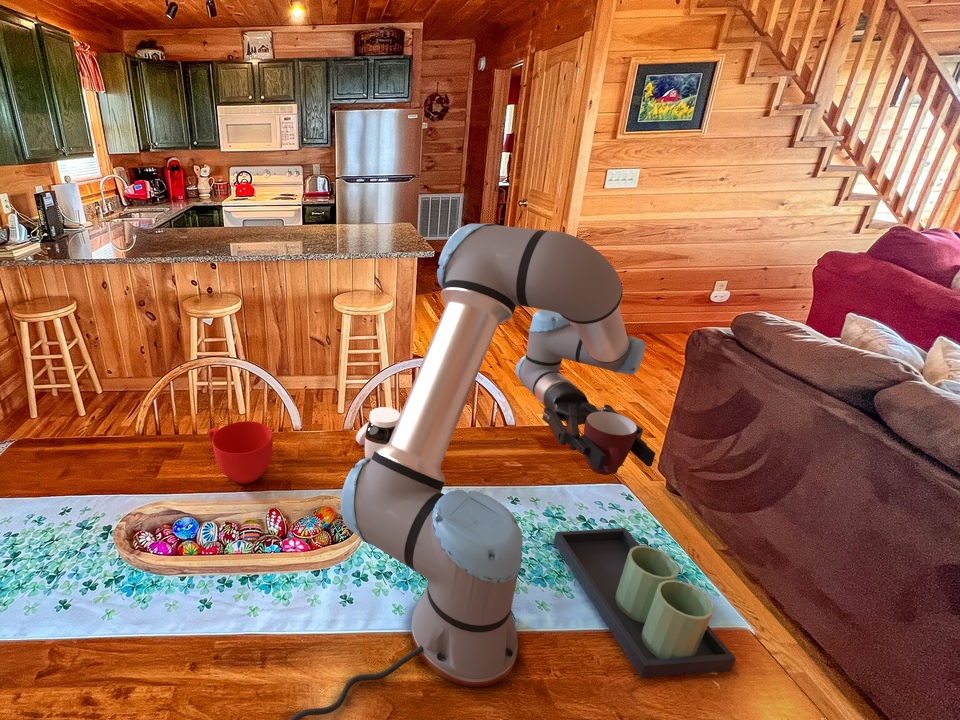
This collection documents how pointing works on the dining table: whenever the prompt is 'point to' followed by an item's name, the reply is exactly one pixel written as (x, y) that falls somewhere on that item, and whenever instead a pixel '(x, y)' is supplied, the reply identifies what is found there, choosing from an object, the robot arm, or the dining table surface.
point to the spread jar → (377, 429)
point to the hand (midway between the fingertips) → (626, 461)
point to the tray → (599, 574)
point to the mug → (610, 438)
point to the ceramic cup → (242, 450)
